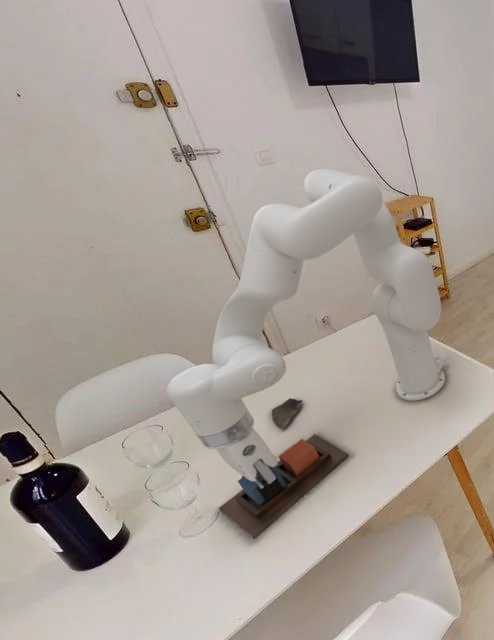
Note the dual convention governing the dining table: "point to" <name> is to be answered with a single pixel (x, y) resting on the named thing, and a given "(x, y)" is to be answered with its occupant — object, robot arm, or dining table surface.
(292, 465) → the orange-brown block
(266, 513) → the dark brown flat tray
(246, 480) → the blue block
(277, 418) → the arrowhead
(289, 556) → the dining table surface
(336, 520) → the dining table surface
